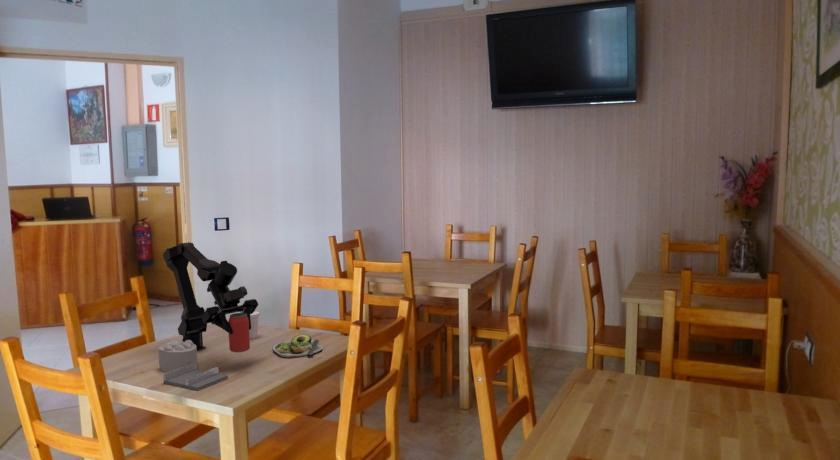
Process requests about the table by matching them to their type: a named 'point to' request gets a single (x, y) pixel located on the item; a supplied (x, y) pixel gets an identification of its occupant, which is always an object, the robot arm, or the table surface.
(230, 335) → the beer can
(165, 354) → the paw print puck
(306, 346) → the salad plate
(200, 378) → the rail board
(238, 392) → the table surface
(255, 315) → the smoothie
